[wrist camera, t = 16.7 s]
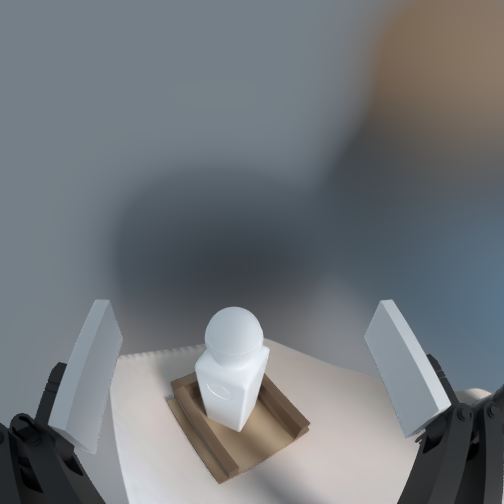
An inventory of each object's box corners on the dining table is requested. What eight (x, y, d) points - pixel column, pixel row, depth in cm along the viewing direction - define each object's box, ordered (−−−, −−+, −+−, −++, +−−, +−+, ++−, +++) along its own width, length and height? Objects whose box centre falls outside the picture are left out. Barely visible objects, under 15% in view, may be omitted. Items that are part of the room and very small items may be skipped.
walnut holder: (249, 366, 46) (252, 346, 43) (307, 431, 35) (318, 417, 32) (167, 403, 38) (161, 385, 35) (219, 484, 27) (218, 477, 24)
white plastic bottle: (202, 418, 35) (186, 323, 24) (222, 388, 41) (221, 285, 29) (241, 436, 33) (252, 351, 22) (259, 404, 39) (279, 305, 27)
